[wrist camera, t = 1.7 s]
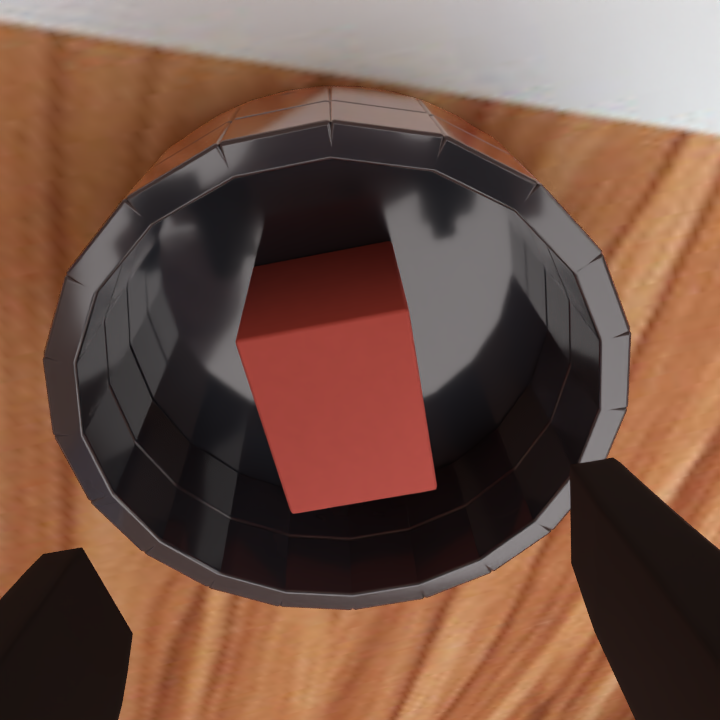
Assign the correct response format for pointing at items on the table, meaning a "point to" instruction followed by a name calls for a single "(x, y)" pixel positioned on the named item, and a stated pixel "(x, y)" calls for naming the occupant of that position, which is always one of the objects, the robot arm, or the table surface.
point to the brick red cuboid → (337, 377)
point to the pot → (430, 332)
